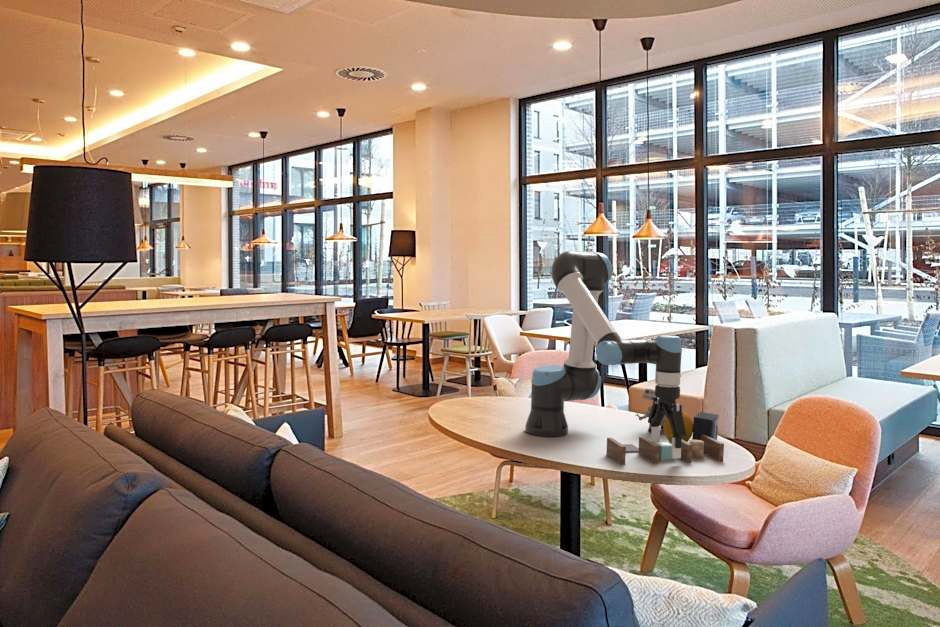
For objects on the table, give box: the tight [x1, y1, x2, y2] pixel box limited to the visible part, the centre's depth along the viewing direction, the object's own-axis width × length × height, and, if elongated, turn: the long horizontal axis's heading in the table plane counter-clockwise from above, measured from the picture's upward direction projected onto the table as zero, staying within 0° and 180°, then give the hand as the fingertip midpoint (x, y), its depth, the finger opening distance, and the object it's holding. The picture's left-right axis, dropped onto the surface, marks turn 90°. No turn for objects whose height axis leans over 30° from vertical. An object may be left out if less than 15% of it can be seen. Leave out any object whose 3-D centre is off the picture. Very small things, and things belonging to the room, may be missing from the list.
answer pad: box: [621, 443, 639, 454], centre depth 225 cm, size 8×8×1 cm
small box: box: [691, 411, 719, 441], centre depth 231 cm, size 11×6×10 cm, turn 149°
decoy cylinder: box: [688, 439, 704, 460], centre depth 217 cm, size 4×4×5 cm
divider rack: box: [606, 435, 725, 466], centre depth 215 cm, size 34×11×6 cm, turn 102°
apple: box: [662, 411, 693, 443], centre depth 231 cm, size 10×10×12 cm
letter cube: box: [655, 441, 675, 461], centre depth 215 cm, size 4×4×5 cm
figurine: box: [635, 388, 666, 433], centre depth 251 cm, size 9×12×15 cm
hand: (665, 452), depth 215 cm, fingers open, 13 cm apart
